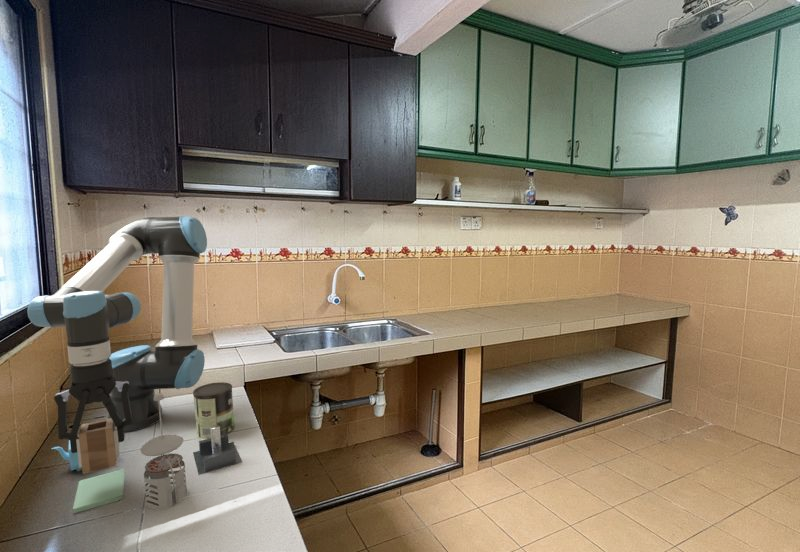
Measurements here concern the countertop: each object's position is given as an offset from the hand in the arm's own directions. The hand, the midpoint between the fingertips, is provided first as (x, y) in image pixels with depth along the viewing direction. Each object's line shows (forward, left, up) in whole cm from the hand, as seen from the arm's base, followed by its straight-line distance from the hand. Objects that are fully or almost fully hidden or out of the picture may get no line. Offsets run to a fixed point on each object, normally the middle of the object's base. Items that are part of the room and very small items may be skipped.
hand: (100, 459), depth 95 cm
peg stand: (+2, +24, -8) cm, 25 cm away
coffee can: (-14, +26, -8) cm, 31 cm away
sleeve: (0, 0, -1) cm, 1 cm away
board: (0, 0, -8) cm, 8 cm away
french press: (+14, +13, -8) cm, 20 cm away
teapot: (-16, -5, -8) cm, 19 cm away
